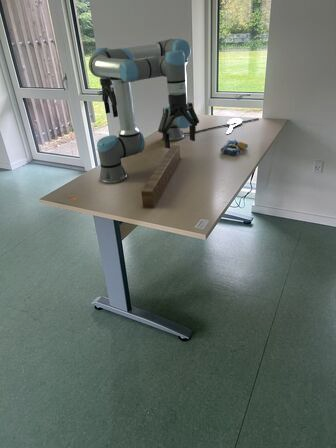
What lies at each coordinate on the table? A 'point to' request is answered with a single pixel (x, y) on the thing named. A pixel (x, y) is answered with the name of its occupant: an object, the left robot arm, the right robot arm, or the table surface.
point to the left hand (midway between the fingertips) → (180, 144)
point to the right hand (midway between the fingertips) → (111, 114)
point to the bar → (160, 177)
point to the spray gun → (233, 147)
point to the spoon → (233, 124)
